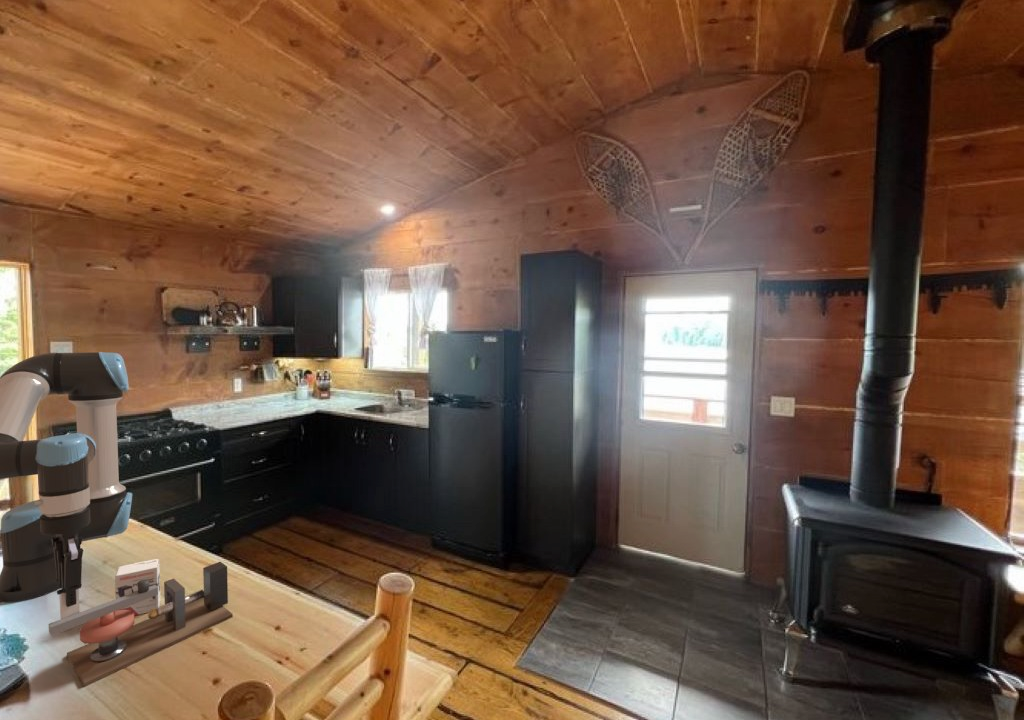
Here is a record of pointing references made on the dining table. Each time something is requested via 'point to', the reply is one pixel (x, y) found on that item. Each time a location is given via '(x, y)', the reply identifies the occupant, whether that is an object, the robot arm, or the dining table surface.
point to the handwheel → (105, 617)
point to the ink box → (129, 580)
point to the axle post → (108, 650)
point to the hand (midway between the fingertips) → (70, 617)
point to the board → (146, 641)
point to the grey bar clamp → (212, 593)
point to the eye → (175, 603)
